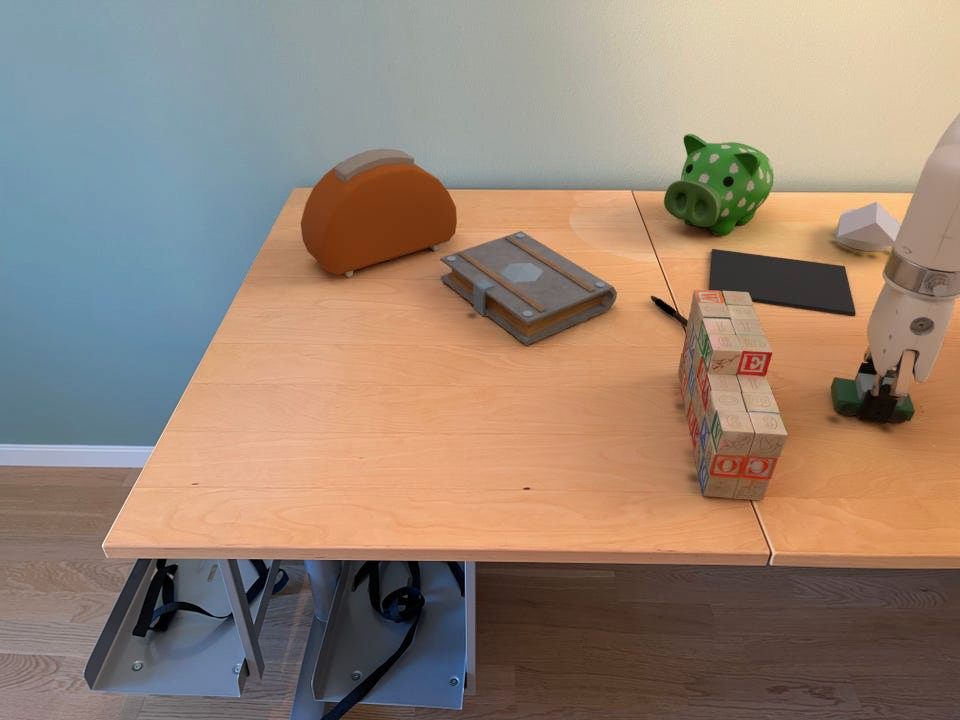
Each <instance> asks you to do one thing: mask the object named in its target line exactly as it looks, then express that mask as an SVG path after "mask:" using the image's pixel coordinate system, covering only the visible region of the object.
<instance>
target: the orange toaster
mask: <svg viewBox="0 0 960 720" xmlns="http://www.w3.org/2000/svg"><path fill="white" fill-rule="evenodd" d="M457 224H458V218H457V206H456V204H455V202H454V201H453V198H452V196H451V194H450V192H449V191H448V189H447V188H446V187H445V185H444V184H443V183H442V182H441V180H440V179H439V178H438V177H436V176H435V175H433V174H431V173H430V172H428V171H427V170H425V169H424V168H422V167H420V166H419V165H417V164H416V163H415V158H414V157H413V156H411V154H408V153H406V152H405V151H403V150H400V149H392V148H378V149H371V150H367V151H363V152H360V153H357V154H355V155H353V156H350V157H348V158H347V159H345V160H343V161H340V162H339V163H337V164H336V165H335V166H333V168H331V169H330V170H329V171H327V172H326V173H325V174H324V175H323V176H322V177H321V178H320V180H318V182H317V183H316V184H315V185H314V186H313V188H312V190H311V192H310V194H309V196H308V197H307V200H306V202H305V205H304V209H303V213H302V217H301V220H300V229H301V238H302V243H303V244H304V246H305V249H306V252H307V253H309V254H310V256H312V258H314V260H315V261H316V262H317V263H318V264H319V265H320V266H321V267H322V268H323V269H324V270H325V271H326V272H329V273H332V274H334V275H341V274H344V275H345V276H346V277H347V278H351V277H353V276H354V271H355V270H359V269H362V268H365V267H369V266H372V265H375V264H380V263H382V262H385V261H389V260H391V259H395V258H399V257H402V256H405V255H408V254H409V255H410V254H412V253H415V252H418V251H422V250H425V249H428V248H430V249H431V250H432V251H433V252H436V251H439V250H440V245H442V244H444V243H447V242H450V240H451V239H452V238H453V237H454V236H455V235H456V230H457Z"/></svg>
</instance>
